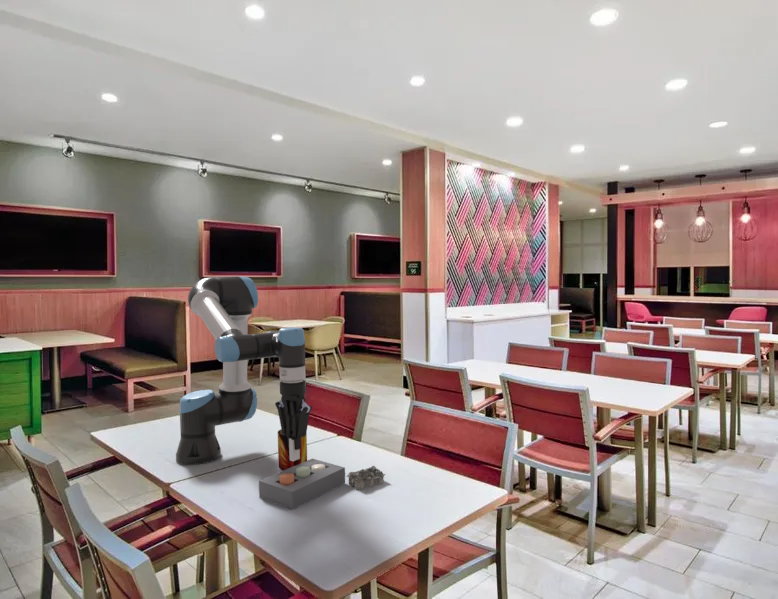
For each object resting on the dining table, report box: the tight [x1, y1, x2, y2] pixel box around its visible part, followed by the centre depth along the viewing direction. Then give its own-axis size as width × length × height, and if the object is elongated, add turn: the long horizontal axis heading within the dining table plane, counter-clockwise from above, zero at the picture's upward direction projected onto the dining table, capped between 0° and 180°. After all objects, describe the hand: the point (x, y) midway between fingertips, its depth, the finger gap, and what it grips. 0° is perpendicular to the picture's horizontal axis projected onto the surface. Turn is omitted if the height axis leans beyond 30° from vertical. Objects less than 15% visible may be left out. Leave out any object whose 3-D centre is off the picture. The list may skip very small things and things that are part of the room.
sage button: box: [296, 466, 310, 478], centre depth 158 cm, size 4×4×3 cm
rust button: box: [279, 473, 294, 486], centre depth 152 cm, size 4×4×3 cm
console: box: [258, 458, 346, 511], centre depth 158 cm, size 14×22×5 cm, turn 144°
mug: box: [277, 428, 308, 471], centre depth 176 cm, size 10×14×12 cm
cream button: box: [311, 464, 325, 471], centre depth 163 cm, size 4×4×3 cm
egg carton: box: [346, 465, 386, 490], centre depth 163 cm, size 11×8×4 cm
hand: (294, 459), depth 155 cm, fingers closed
